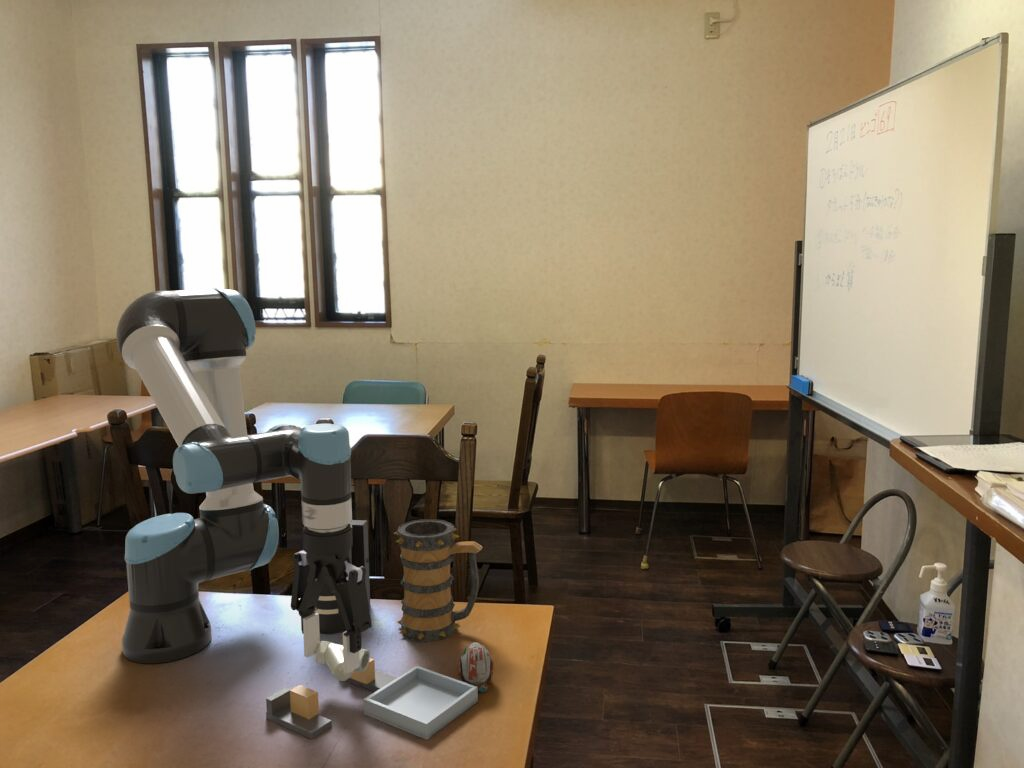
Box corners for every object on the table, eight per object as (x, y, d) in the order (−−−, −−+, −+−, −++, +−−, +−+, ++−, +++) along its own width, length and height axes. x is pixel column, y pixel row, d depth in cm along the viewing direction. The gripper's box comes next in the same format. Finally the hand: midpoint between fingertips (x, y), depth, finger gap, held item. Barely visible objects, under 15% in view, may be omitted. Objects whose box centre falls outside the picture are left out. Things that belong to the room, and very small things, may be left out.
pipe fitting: (350, 688, 128) (369, 666, 134) (350, 665, 127) (370, 645, 133) (304, 678, 130) (325, 657, 136) (304, 655, 129) (326, 635, 135)
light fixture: (300, 632, 155) (296, 542, 153) (325, 602, 169) (321, 519, 166) (350, 635, 154) (347, 544, 151) (371, 604, 168) (368, 520, 165)
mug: (405, 612, 164) (402, 515, 161) (490, 618, 161) (489, 519, 158) (385, 642, 151) (381, 537, 148) (476, 648, 149) (475, 542, 145)
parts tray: (364, 714, 127) (363, 699, 127) (417, 679, 138) (416, 665, 137) (426, 739, 120) (426, 724, 120) (477, 701, 131) (477, 686, 130)
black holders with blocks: (266, 718, 126) (264, 691, 126) (354, 667, 142) (353, 643, 141) (311, 739, 121) (310, 710, 120) (398, 683, 136) (397, 658, 136)
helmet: (458, 698, 134) (458, 671, 130) (457, 657, 141) (457, 631, 137) (494, 696, 135) (495, 669, 131) (491, 656, 141) (492, 629, 137)
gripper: (262, 518, 130) (268, 652, 133) (359, 546, 118) (363, 691, 122) (299, 506, 136) (304, 634, 140) (394, 531, 124) (397, 670, 128)
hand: (331, 661), depth 131 cm, fingers closed on pipe fitting, 8 cm apart
